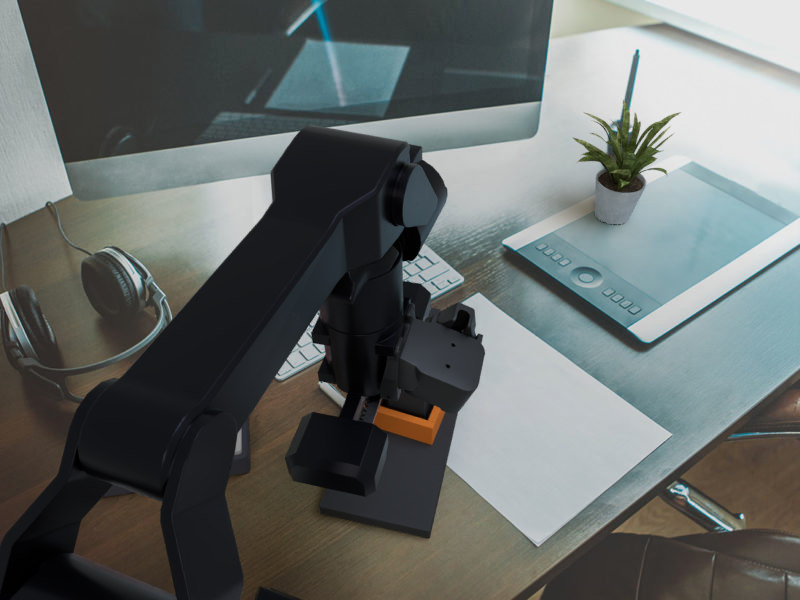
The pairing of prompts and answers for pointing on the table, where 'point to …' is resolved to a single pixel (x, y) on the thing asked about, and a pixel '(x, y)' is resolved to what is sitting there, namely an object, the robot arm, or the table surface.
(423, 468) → the base pad
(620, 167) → the house plant
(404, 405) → the dark gray block
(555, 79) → the table surface
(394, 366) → the robot arm
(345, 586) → the table surface
